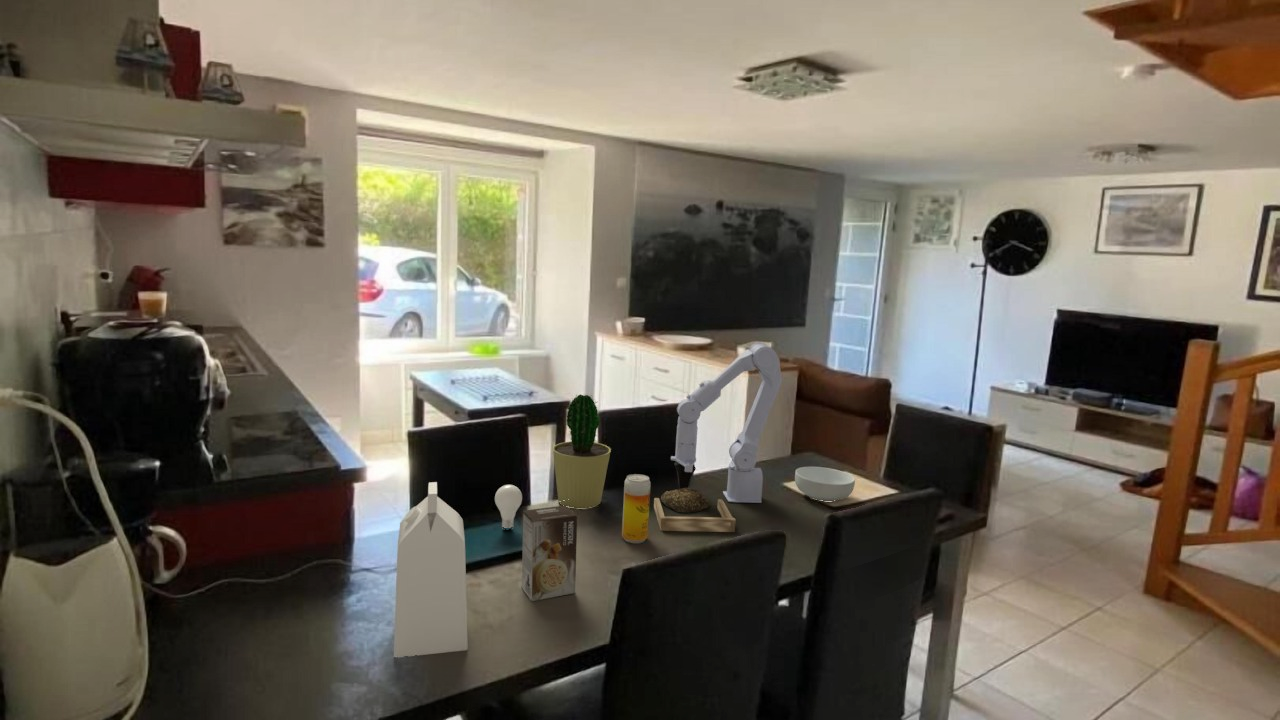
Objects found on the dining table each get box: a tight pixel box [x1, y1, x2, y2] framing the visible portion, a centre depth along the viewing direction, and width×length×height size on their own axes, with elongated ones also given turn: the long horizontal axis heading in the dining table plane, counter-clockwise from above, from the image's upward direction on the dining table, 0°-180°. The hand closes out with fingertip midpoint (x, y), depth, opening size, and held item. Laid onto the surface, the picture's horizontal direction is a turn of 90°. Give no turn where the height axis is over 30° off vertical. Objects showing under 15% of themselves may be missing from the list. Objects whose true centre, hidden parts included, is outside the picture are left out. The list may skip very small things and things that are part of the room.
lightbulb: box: [494, 484, 523, 528], centre depth 163 cm, size 6×6×11 cm
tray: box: [653, 497, 737, 533], centre depth 177 cm, size 18×16×3 cm
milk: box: [393, 481, 468, 659], centre depth 116 cm, size 12×12×26 cm
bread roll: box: [660, 487, 710, 513], centre depth 187 cm, size 13×12×5 cm
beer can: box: [621, 473, 652, 544], centre depth 161 cm, size 6×6×15 cm
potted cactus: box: [552, 394, 612, 508], centre depth 183 cm, size 15×15×30 cm
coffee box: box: [521, 505, 578, 602], centre depth 134 cm, size 9×6×16 cm
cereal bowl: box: [794, 466, 856, 501], centre depth 198 cm, size 17×17×7 cm
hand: (683, 489), depth 194 cm, fingers closed
